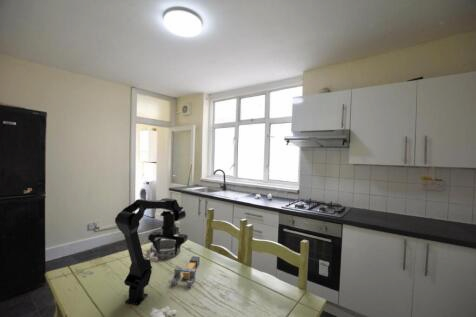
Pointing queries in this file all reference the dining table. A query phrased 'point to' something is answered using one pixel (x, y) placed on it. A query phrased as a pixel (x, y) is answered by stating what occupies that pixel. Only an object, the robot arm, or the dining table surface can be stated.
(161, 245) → the grey round bowl
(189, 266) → the plug
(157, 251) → the robot arm
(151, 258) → the pipe connector
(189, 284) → the frame
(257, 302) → the dining table surface
